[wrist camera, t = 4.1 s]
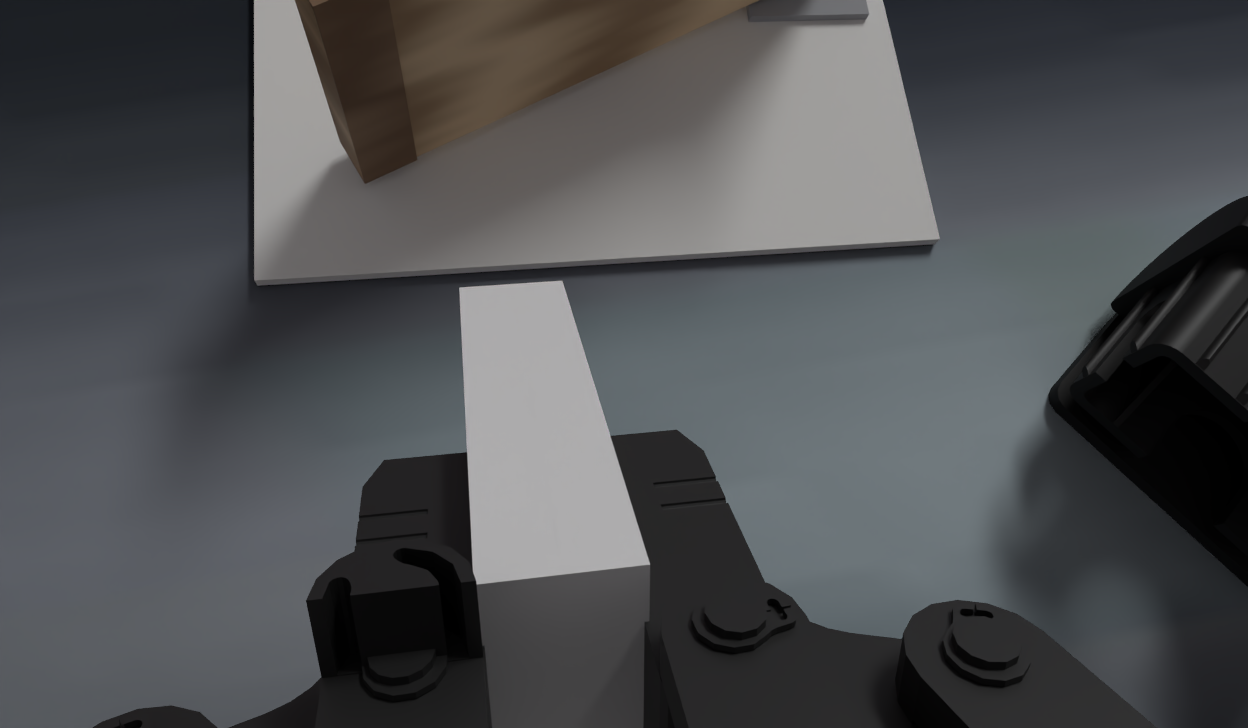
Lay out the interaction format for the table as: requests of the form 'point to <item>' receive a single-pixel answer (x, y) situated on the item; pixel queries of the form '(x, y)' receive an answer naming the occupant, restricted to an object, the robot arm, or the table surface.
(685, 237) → the base
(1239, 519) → the end cap
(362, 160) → the gate
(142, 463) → the table surface
